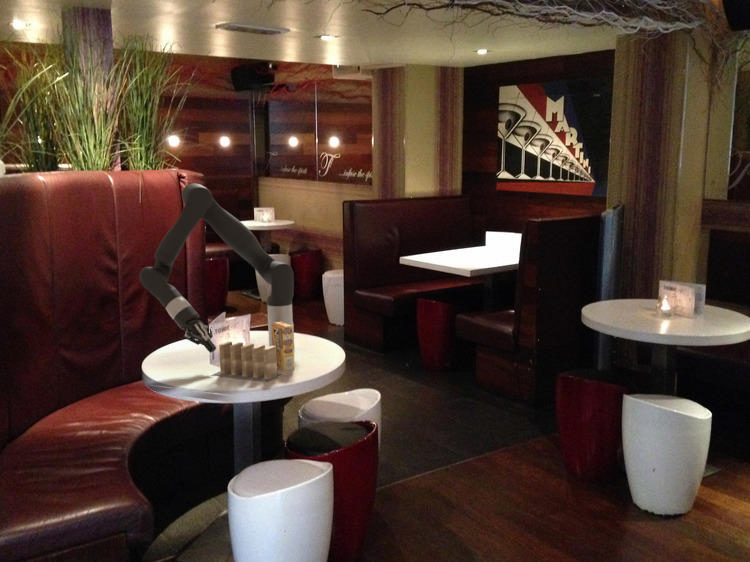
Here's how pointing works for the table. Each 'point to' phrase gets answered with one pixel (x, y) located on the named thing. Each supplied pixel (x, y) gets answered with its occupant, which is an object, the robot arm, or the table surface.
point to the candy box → (283, 344)
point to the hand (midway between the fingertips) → (213, 350)
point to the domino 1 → (225, 357)
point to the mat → (239, 376)
